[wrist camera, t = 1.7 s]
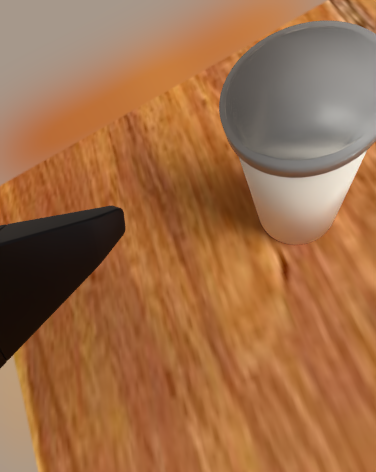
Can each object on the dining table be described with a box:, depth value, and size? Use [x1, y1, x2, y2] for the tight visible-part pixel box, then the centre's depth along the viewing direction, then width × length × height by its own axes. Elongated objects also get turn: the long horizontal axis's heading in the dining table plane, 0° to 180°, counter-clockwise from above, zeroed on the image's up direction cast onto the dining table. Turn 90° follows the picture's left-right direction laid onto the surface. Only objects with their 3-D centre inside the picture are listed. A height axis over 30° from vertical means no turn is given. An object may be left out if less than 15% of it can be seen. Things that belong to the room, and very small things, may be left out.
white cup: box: [219, 21, 376, 245], centre depth 15 cm, size 6×6×12 cm
